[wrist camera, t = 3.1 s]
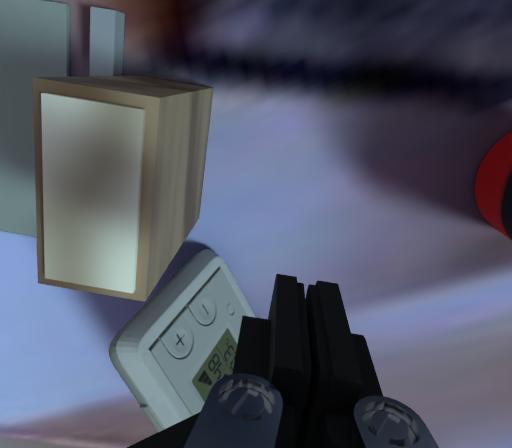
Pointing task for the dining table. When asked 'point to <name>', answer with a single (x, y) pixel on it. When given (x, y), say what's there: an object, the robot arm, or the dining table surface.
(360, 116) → the dining table surface
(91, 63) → the rail
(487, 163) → the soda can
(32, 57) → the mat
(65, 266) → the block
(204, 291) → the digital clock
